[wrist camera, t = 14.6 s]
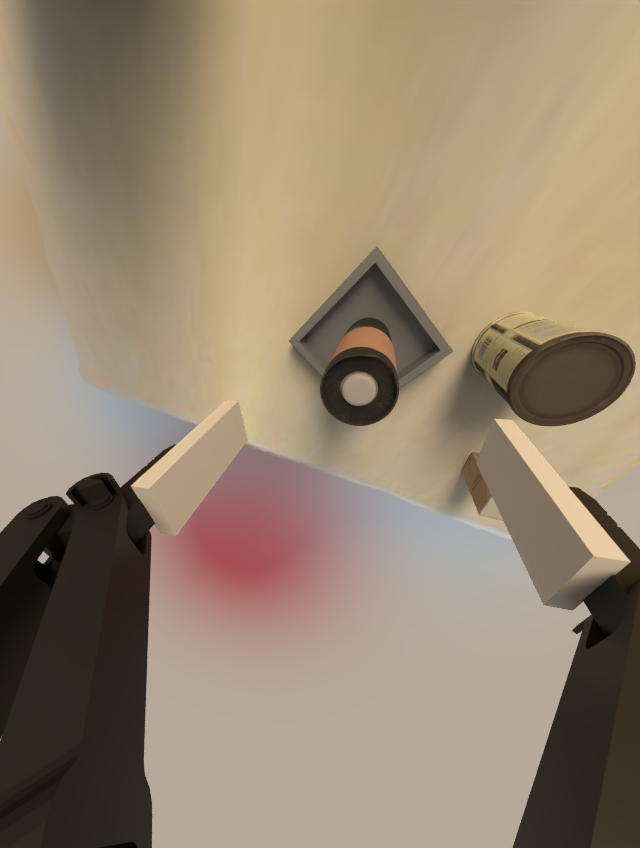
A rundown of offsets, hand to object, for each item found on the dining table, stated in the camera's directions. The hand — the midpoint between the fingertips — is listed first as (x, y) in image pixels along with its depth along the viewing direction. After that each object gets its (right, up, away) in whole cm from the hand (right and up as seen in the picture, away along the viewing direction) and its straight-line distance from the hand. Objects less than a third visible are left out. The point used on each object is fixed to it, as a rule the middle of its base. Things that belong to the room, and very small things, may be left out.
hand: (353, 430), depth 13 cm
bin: (+6, +14, +27) cm, 32 cm away
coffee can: (+27, +12, +24) cm, 38 cm away
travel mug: (+6, +14, +27) cm, 31 cm away
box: (+29, -7, +36) cm, 47 cm away
